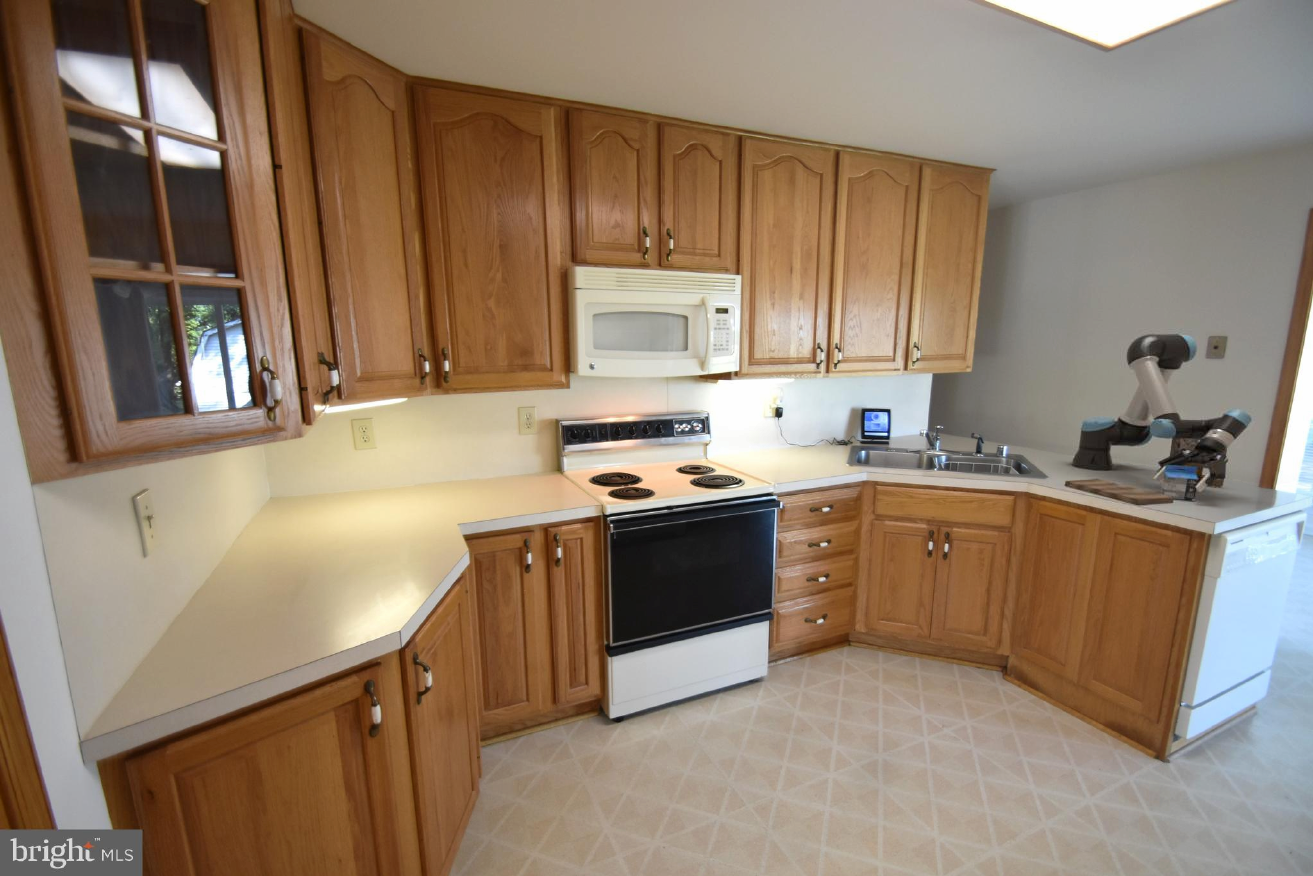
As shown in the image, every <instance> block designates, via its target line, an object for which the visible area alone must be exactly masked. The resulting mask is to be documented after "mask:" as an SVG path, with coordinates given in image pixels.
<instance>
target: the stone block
mask: <svg viewBox="0 0 1313 876" xmlns="http://www.w3.org/2000/svg"><path fill="white" fill-rule="evenodd" d="M1199 441H1200V440H1192V439H1184V438H1171V445H1170V451H1169V456H1171V455H1173V454H1175V453H1177V452H1179V451H1180V450H1181V449H1182V448H1185V449H1186V450H1188V451H1191V449H1194V448H1195V446H1196V444H1197V443H1198V442H1199ZM1188 459H1189V458H1188ZM1180 466H1187V467H1188V463H1186V464H1183V465H1180ZM1175 470H1180V471H1186V470H1185V469H1182V468H1180V469H1175Z"/></svg>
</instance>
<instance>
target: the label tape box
mask: <svg viewBox="0 0 1313 876" xmlns="http://www.w3.org/2000/svg"><path fill="white" fill-rule="evenodd" d="M1180 468H1182V469H1185V470H1186V471H1180V470H1175V469H1180ZM1196 469H1197V467H1187V466H1175V465H1166V467H1165V471H1164V477H1163V479H1162V484H1161V491H1160V492H1161V493H1160V494H1162V495H1166V496H1170V497H1174V500H1185V501H1193V502H1194V501H1196V496H1197V491H1198V490H1197V489H1196V486H1197V484H1198V477H1197V475H1196Z"/></svg>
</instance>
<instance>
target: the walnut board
mask: <svg viewBox="0 0 1313 876" xmlns="http://www.w3.org/2000/svg"><path fill="white" fill-rule="evenodd" d="M1064 481H1065V482H1064V486H1065V487H1069V488H1073V489H1076V490H1080V491H1083V492H1089V493H1091V494H1095V495H1098V496H1102V497H1106V498H1110V499H1114V500H1118V501H1120V502H1121V501H1122V502H1126V503H1128V504H1133V505H1136V506H1142V505H1143V506H1146V505H1147V506H1148V505H1159V504H1171V503H1172V504H1173V503H1174V500H1175V499H1174V497H1170V496H1166V495H1162V494H1161V493H1157V492H1153V491H1148V490H1145V489H1141V488H1137V487H1133V486H1132V487H1131V486H1127V485H1124V484H1119V483H1115V482H1110V481H1107V480H1102V479H1098V478H1092V479H1091V478H1089V479H1076V480H1075V479H1073V480H1064Z"/></svg>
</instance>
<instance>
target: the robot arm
mask: <svg viewBox="0 0 1313 876" xmlns="http://www.w3.org/2000/svg"><path fill="white" fill-rule="evenodd" d="M1197 349H1198V348H1197V344H1196V340H1195V339H1194V338H1193V337H1191V336H1190V335H1187V334H1178V333H1173V334H1168V333H1167V334H1165V333H1164V334H1162V333H1160V334H1154V333H1153V334H1151V333H1150V334H1145V335H1141V336H1139V337H1137V338H1136V339H1134V340H1133V341H1132V342H1131V344H1130V345H1129V347H1128V349H1127V351H1126V362H1127V365H1128V367H1129V369H1130V370H1133V371H1134V374H1135V377H1136V378H1137V382H1138V386H1137V388H1136V390H1135V392H1134V394H1133V396H1132V398H1131V401H1130V403H1129V405H1128V407H1127V408H1126V411H1125V412H1123V413H1120V414H1119V416H1118V418H1117V420H1115V418H1112V417H1090V418H1085V419H1084V420H1083V421H1082V424H1081V427H1080V438H1079V444H1078V450H1077V451H1076V453H1075V455H1074V457H1073V459H1072V460H1071V462H1072V463H1071V465H1072V466H1073V465H1074V467H1077V468H1080V467H1081V468H1082V469H1087V470H1094V471H1095V470H1097V471H1111V470H1110V469H1112V470H1113V468H1114V464H1113V459H1112V456H1111V448H1112V446H1115V447H1116V446H1119V447H1120V446H1121V447H1122V446H1123V447H1138V446H1139V447H1140V446H1144V445H1146V444H1148V443H1149V442H1151V440H1152V439H1153V437H1155V438H1157V439H1158V438H1159V439H1167V440H1169V439H1172V438H1184V439H1192V440H1199V441H1198V443H1197V444H1196V446H1195V448H1194V449H1193V450H1191V451H1188V450H1186V449H1185V448H1182V449H1181V450H1180V451H1179V452H1177V453H1175V454H1173V455H1171V456H1170V455H1168V457H1165V458H1163V459H1161V460H1159V461H1158V462H1157V463H1158V465H1159V466H1160V468H1159V469H1158V470H1157V472H1156V473H1157V474H1155V476H1154V477H1153V480H1154V481H1155V483H1157V484H1159V483H1160V482H1161V481H1163V477H1164V471H1165V467H1166V465H1175V466H1180V465H1183V464H1186V463H1200V464H1203V465H1204V464H1207V466H1208V471H1209V473H1206V476H1205V477H1204V478H1203V479H1202V480H1201V481H1200V482H1199V483H1198V484H1197V486H1196V489H1197V491H1198V492H1199V493H1202V491H1203V490H1205V488H1206V487H1208V486H1207V485H1210V484H1212V483H1213V482H1214V480H1215V479H1218V478H1221V479H1224V480H1225V479H1226V471H1227V470H1226V469H1227V463H1228V461H1229V458H1228V457H1227V454H1226V455H1225V454H1223V455H1222V453H1223V452H1224V451H1225V450H1226V449H1227V450H1228V448H1229V447H1230V446H1231V445H1232V444H1233V443H1234V441H1235V440H1237V438H1238V437H1239V436H1240V435H1241V434H1242V433H1243V432H1244V431H1245V430H1246V429H1247V428H1248V426H1249V425H1250V423H1251V422H1252V420H1253V419H1252V416H1251V414H1248V413H1247V412H1246V411H1244V410H1240V409H1229V410H1227V411H1226V412H1225V413H1223V414H1222V416H1220V417H1219V416H1218V417H1215V418H1209V419H1182V418H1181V416H1180V414H1179V412H1178V410H1177V406H1176V405H1175V402H1174V401H1173V398H1172V395H1171V393H1170V391H1169V388H1168V386H1167V384H1168V382H1169V380H1170V378H1171V376H1172V374H1173V373H1174V372H1175V371H1177V370H1180V369H1181V367H1182V365H1183V363H1188V362H1190V361H1192V360H1193V359H1194V358H1195V357H1196V355H1197ZM1151 416H1152V418H1153V421H1151V419H1150V418H1151ZM1189 457H1190V459H1191V460H1189V459H1188V458H1189ZM1217 459H1218V460H1219V464H1218V473H1216V472H1215V469H1214V467H1213V464H1212V461H1215V460H1217ZM1210 474H1211V475H1210Z"/></svg>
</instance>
